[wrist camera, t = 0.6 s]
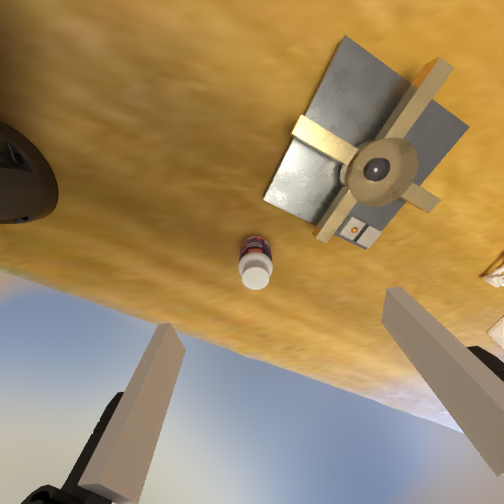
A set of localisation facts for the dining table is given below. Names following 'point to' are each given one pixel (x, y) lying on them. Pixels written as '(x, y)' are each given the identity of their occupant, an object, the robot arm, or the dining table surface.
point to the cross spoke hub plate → (356, 141)
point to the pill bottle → (255, 262)
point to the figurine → (495, 277)
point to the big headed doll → (498, 332)
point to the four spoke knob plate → (377, 155)
